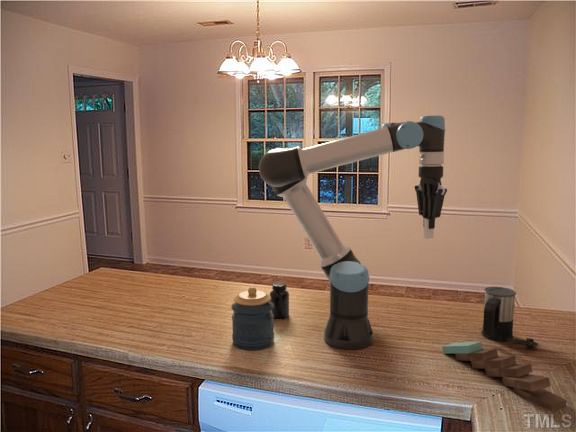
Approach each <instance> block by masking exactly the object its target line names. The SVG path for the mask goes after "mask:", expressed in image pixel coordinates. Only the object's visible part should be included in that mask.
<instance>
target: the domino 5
mask: <svg viewBox="0 0 576 432" xmlns="http://www.w3.org/2000/svg"><path fill="white" fill-rule="evenodd" d="M502 382H503V386H504V387H505V386H506V387H511V388H513V389H514V388H519V389H524V390H528V391H536V390H540V389H547V388H550V387H551V386H552V385H551V382H550V378H549V377H547V376H541V375H538V374H537V375H536V374H530V373H529V374H526V375H524V376H521V377H502Z"/></svg>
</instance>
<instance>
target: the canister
mask: <svg viewBox="0 0 576 432" xmlns="http://www.w3.org/2000/svg"><path fill="white" fill-rule="evenodd" d="M270 300H271V296H270V294H268V293H267V292H266V291H263V290H258V289H257V288H256V287H254V286H249V288H248V289H247V290H243V291H241V292H239V293H238V294H236V295H235V296H234V298H233V303H232V304H231V307H230V308H231V310H232V315H231V321H232V322H231V323H232V326H231V327H232V336H231V337H232V339H231V340H232V343H233V345H234V346H235V347H236V348H238V349H241V350H245V351H259V350H263V349H267V348H269V347H270V346H272V344H273V343H274V341H275V332H274V331H275V329H274V328H275V326H274V323H275V322H274V320H275V319H273V318H274V314H273V312H272V309H273V307H274V304H273V302H271V301H270Z"/></svg>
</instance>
